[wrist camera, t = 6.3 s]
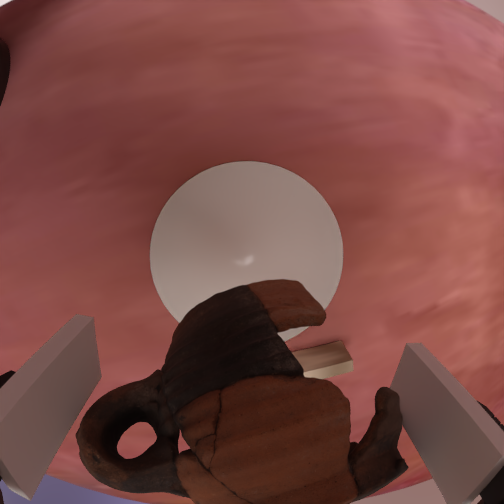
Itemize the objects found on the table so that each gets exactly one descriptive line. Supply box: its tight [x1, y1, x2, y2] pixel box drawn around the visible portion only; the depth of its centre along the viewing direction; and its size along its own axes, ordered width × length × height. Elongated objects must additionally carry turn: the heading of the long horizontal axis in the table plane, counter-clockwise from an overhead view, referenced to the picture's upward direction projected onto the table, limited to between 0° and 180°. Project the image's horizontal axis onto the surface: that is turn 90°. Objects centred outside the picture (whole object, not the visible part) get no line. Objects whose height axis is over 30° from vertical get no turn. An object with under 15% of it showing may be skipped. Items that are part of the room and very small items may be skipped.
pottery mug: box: [76, 279, 408, 504], centre depth 10 cm, size 12×9×8 cm
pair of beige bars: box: [292, 341, 353, 379], centre depth 27 cm, size 16×17×4 cm
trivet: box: [150, 161, 343, 341], centre depth 25 cm, size 16×16×1 cm
